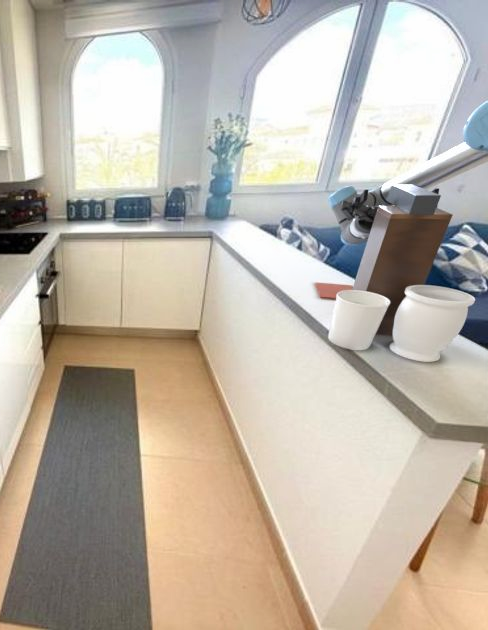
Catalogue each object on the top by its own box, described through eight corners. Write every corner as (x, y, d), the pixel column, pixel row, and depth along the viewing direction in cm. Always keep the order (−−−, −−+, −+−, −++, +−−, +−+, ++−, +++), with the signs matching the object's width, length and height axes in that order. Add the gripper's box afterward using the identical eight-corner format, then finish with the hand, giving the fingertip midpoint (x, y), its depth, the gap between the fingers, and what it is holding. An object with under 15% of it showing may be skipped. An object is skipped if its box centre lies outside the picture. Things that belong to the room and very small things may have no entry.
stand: (389, 318, 94) (432, 205, 81) (402, 337, 85) (453, 214, 72) (344, 313, 98) (378, 205, 85) (352, 331, 90) (391, 213, 77)
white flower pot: (382, 353, 80) (400, 307, 75) (334, 350, 82) (348, 305, 77) (361, 333, 88) (375, 290, 83) (317, 331, 91) (329, 289, 86)
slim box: (406, 200, 89) (412, 184, 87) (433, 214, 73) (441, 195, 71) (386, 200, 90) (391, 184, 89) (408, 214, 75) (415, 195, 73)
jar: (396, 362, 76) (422, 301, 70) (374, 339, 85) (395, 283, 79) (457, 368, 73) (490, 304, 67) (428, 343, 82) (454, 285, 76)
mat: (351, 287, 115) (351, 285, 114) (360, 302, 104) (360, 300, 104) (315, 284, 119) (315, 282, 119) (320, 298, 109) (321, 296, 108)
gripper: (421, 235, 100) (466, 209, 81) (318, 232, 111) (337, 208, 92) (425, 210, 100) (471, 178, 81) (322, 210, 111) (341, 181, 92)
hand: (400, 194), depth 87 cm, fingers open, 13 cm apart
